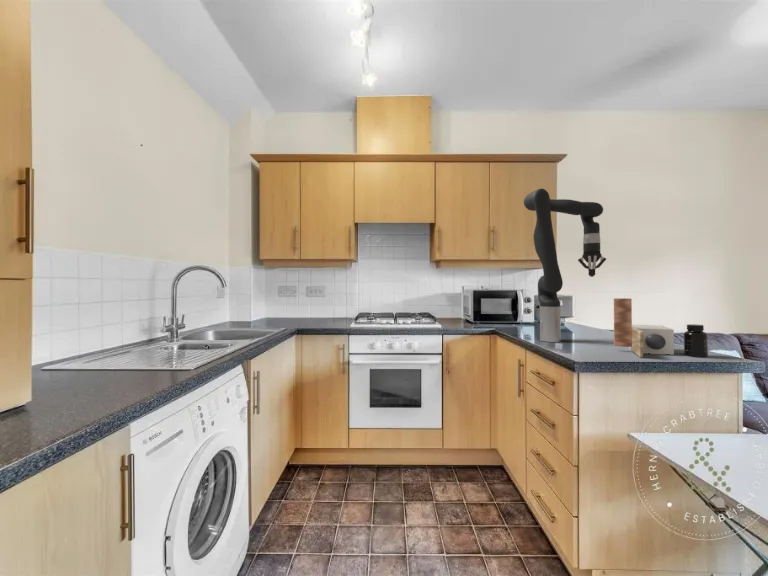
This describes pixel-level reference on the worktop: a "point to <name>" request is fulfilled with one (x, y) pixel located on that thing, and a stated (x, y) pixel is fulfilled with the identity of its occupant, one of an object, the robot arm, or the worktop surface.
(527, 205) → the robot arm
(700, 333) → the supplement bottle
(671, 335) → the housing
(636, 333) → the wooden block
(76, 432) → the worktop surface
